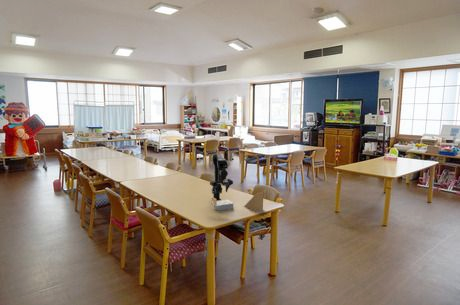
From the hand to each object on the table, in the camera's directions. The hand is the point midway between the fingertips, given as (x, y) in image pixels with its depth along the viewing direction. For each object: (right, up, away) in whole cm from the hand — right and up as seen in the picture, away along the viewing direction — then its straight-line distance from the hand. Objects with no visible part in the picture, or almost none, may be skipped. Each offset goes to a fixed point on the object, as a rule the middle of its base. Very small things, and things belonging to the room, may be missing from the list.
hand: (221, 192), depth 251 cm
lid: (+1, -9, 0) cm, 9 cm away
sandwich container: (+26, -14, +3) cm, 30 cm away
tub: (+2, -13, +1) cm, 13 cm away
